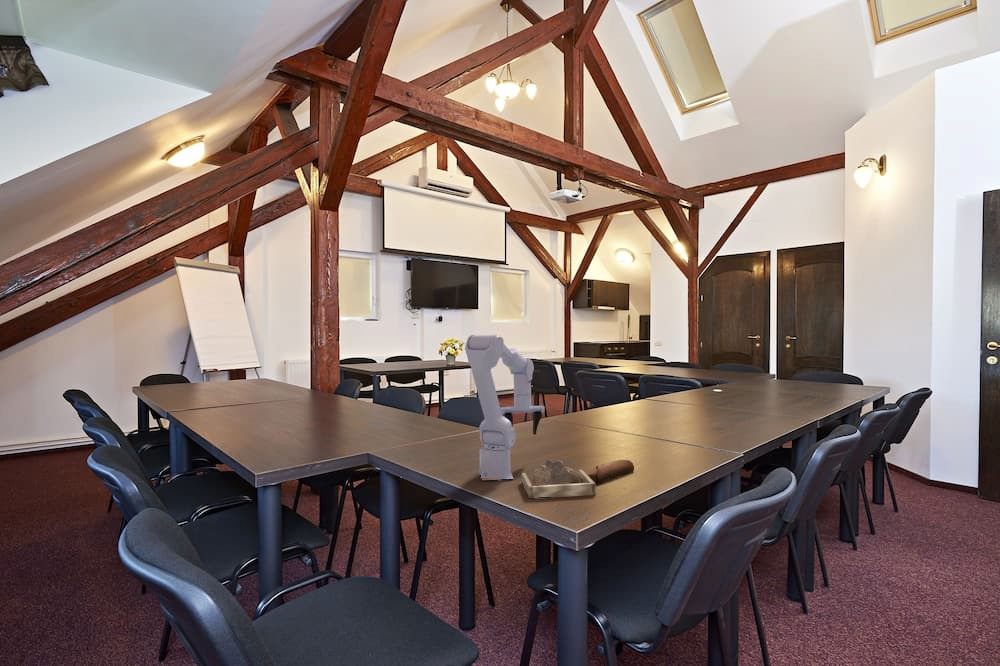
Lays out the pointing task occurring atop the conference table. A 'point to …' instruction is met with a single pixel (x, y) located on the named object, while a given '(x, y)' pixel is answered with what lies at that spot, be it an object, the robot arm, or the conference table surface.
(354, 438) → the conference table surface
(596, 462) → the conference table surface
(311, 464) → the conference table surface
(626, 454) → the conference table surface
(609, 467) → the sunglasses case
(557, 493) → the box
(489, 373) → the robot arm
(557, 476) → the rock
